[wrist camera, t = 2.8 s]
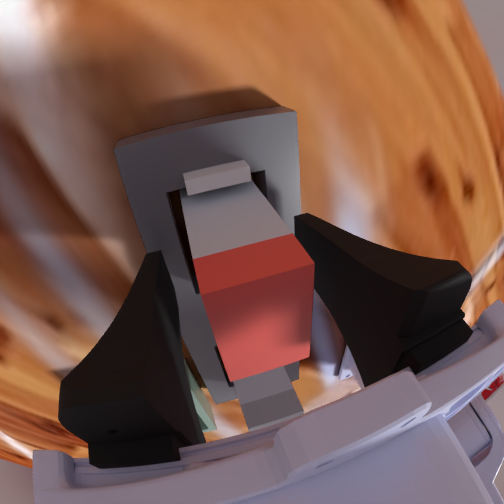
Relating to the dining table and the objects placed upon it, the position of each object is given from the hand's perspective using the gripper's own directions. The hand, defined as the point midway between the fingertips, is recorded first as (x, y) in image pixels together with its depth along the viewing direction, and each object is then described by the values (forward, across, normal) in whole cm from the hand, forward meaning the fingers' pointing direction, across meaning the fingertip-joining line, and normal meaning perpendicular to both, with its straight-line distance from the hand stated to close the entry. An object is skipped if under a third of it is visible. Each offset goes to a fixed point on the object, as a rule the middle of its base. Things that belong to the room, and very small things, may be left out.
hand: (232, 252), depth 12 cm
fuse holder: (+3, 0, +5) cm, 6 cm away
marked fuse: (+3, 0, 0) cm, 3 cm away
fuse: (+3, 0, +10) cm, 10 cm away
